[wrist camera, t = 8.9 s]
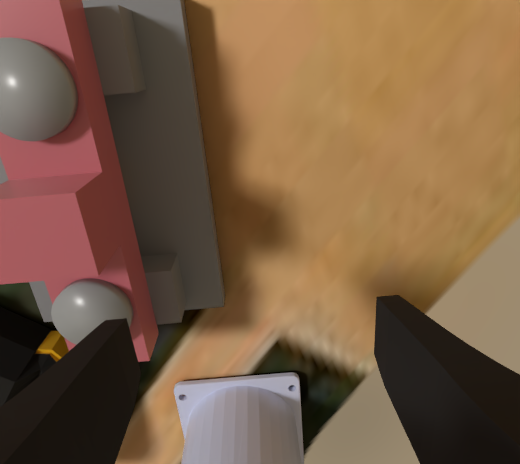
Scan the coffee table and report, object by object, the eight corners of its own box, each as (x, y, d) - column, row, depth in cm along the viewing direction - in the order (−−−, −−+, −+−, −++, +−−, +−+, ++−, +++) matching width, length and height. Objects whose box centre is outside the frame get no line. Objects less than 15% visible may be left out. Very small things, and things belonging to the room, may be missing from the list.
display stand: (225, 294, 23) (221, 327, 20) (53, 309, 23) (27, 343, 20) (183, -5, 17) (170, -17, 14) (-50, 17, 17) (-108, 8, 14)
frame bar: (158, 333, 20) (135, 404, 16) (90, 339, 20) (49, 411, 16) (80, -7, 14) (9, -35, 10) (-18, 1, 14) (-128, -23, 10)
